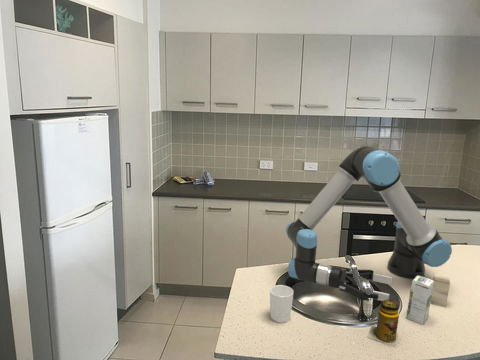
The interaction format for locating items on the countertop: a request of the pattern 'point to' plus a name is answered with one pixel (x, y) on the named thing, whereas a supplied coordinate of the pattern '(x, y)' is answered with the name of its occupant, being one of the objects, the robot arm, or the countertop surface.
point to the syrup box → (420, 299)
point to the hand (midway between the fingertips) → (390, 289)
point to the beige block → (440, 290)
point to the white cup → (280, 303)
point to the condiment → (386, 323)
